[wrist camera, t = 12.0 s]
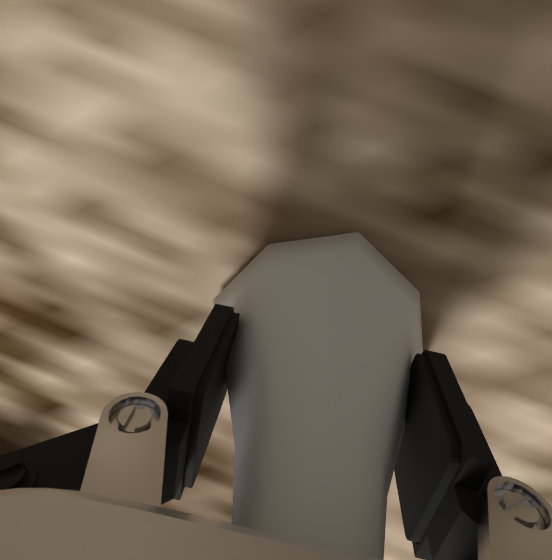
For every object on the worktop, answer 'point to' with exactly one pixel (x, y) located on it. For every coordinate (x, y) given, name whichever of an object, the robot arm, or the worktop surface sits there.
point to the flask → (320, 389)
